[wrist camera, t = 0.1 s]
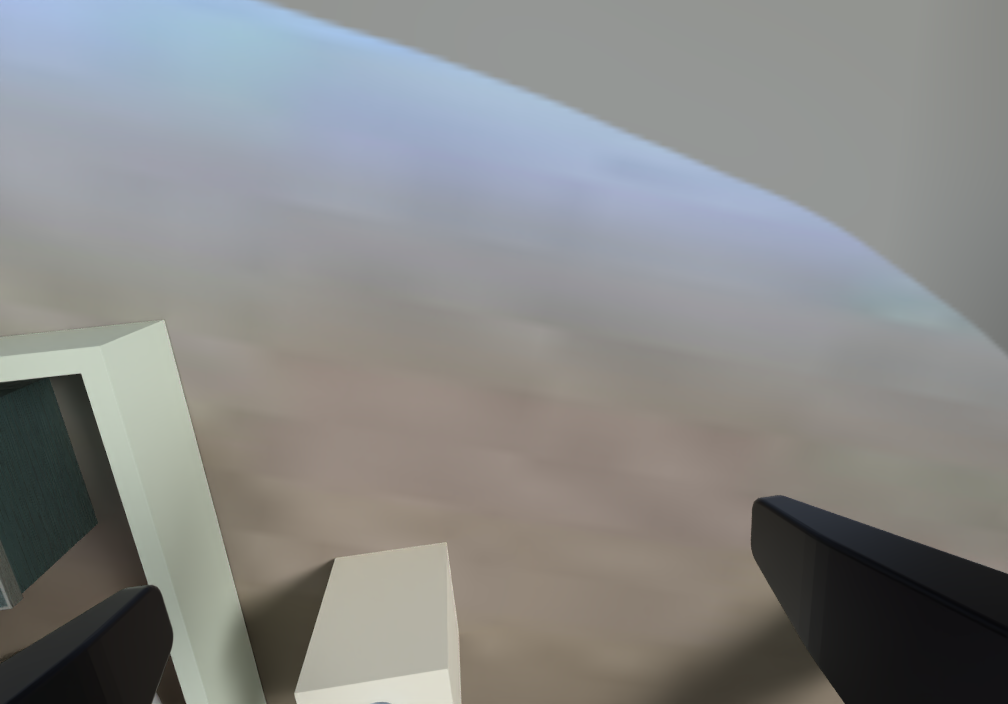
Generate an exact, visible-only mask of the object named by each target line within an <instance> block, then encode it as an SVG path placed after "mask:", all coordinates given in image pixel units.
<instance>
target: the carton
mask: <svg viewBox="0 0 1008 704" xmlns="http://www.w3.org/2000/svg"><path fill="white" fill-rule="evenodd" d="M294 694H295V698H296V702H297V704H461V681H460V655H459V631H458V623H457V616H456V608H455V601H454V594H453V586H452V579H451V572H450V564H449V557H448V550H447V542H444V543H437V544H430V545H423V546H416V547H409V548H402V549H395V550H388V551H381V552H374V553H367V554H360V555H353V556H346V557H339V558H335V561H334V564H333V567H332V571H331V574H330V577H329V581H328V584H327V587H326V591H325V594H324V597H323V600H322V604H321V607H320V610H319V614H318V617H317V620H316V624H315V627H314V630H313V633H312V637H311V640H310V643H309V647H308V650H307V653H306V657H305V660H304V663H303V666H302V670H301V673H300V676H299V680H298V683H297V686H296V690H295V693H294Z"/></svg>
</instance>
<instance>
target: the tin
mask: <svg viewBox="0 0 1008 704" xmlns="http://www.w3.org/2000/svg"><path fill="white" fill-rule="evenodd" d="M97 524H98V522H97V519H96V516H95V513H94V510H93V507H92V504H91V501H90V498H89V495H88V492H87V489H86V486H85V483H84V480H83V477H82V474H81V471H80V468H79V465H78V462H77V459H76V456H75V453H74V450H73V447H72V444H71V441H70V438H69V435H68V432H67V429H66V426H65V424H64V421H63V418H62V415H61V412H60V409H59V406H58V403H57V400H56V397H55V394H54V391H53V388H52V385H51V382H50V379H49V377H42V378H33V379H24V380H15V381H6V382H0V610H5V609H12V608H13V607H14V606H15V605H16V604H17V603H19V602H20V601H21V600H22V599H23V596H22V593H23V592H24V591H25V590H26V589H27V588H28V587H30V586H31V585H32V584H33V583H34V582H35V581H36V580H37V579H38V578H39V577H40V576H41V575H43V574H44V573H45V572H46V571H47V570H48V569H49V568H50V567H51V566H52V565H53V564H54V563H56V562H57V561H58V560H59V559H60V558H61V557H62V556H63V555H64V554H65V553H66V552H67V551H69V550H70V549H71V548H72V547H73V546H74V545H75V544H76V543H77V542H78V541H79V540H80V539H82V538H83V537H84V536H85V535H86V534H87V533H88V532H89V531H90V530H91V529H92V528H94V527H95V526H96V525H97Z"/></svg>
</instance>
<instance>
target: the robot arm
mask: <svg viewBox="0 0 1008 704" xmlns="http://www.w3.org/2000/svg"><path fill="white" fill-rule="evenodd" d="M751 549H752V553H753V556H754V559H755V561H756V563H757V564H758V566H759V568H760V570H761V571H762V573H763V575H764V577H765V578H766V580H767V582H768V583H769V585H770V587H771V589H772V590H773V592H774V594H775V596H776V597H777V599H778V601H779V603H780V604H781V606H782V608H783V610H784V611H785V613H786V615H787V616H788V618H789V620H790V622H791V623H792V625H793V627H794V629H795V630H796V632H797V634H798V636H799V637H800V639H801V640H802V642H803V644H804V645H805V647H806V649H807V650H808V652H809V653H810V655H811V656H812V658H813V659H814V660H815V662H816V663H817V665H818V666H819V668H820V669H821V671H822V672H823V673H824V675H825V676H826V678H827V679H828V680H829V682H830V683H831V685H832V686H833V688H834V689H835V690H836V692H837V693H838V695H839V696H840V697H841V699H842V700H843V702H844V703H845V704H1008V574H1007V573H1004V572H1001V571H998V570H995V569H992V568H990V567H987V566H984V565H981V564H978V563H975V562H972V561H969V560H967V559H964V558H961V557H958V556H955V555H952V554H949V553H946V552H944V551H941V550H938V549H935V548H932V547H929V546H926V545H923V544H921V543H918V542H915V541H912V540H909V539H906V538H903V537H900V536H898V535H895V534H892V533H889V532H886V531H883V530H880V529H877V528H875V527H872V526H869V525H866V524H863V523H860V522H857V521H854V520H852V519H849V518H846V517H843V516H840V515H837V514H834V513H831V512H829V511H826V510H823V509H820V508H817V507H814V506H811V505H808V504H806V503H803V502H800V501H797V500H794V499H791V498H788V497H785V496H782V495H777V496H770V497H763V498H758V499H757V500H755V501H754V503H753V507H752V526H751ZM173 637H174V636H173V629H172V625H171V622H170V619H169V616H168V612H167V609H166V606H165V603H164V599H163V596H162V593H161V591H160V589H159V588H158V587H157V586H154V585H145V586H137V587H130V588H126V589H122V590H121V591H119V592H117V593H115V594H114V595H112V596H111V597H109V598H107V599H106V600H104V601H102V602H101V603H99V604H97V605H96V606H94V607H93V608H91V609H89V610H88V611H86V612H84V613H83V614H81V615H80V616H78V617H76V618H75V619H73V620H71V621H70V622H68V623H66V624H65V625H63V626H62V627H60V628H58V629H57V630H55V631H53V632H52V633H50V634H48V635H47V636H45V637H44V638H42V639H40V640H39V641H37V642H35V643H34V644H32V645H30V646H29V647H27V648H26V649H24V650H22V651H21V652H19V653H17V654H16V655H14V656H12V657H11V658H9V659H8V660H6V661H4V662H3V663H1V664H0V704H152V703H153V700H154V697H155V694H156V691H157V689H158V686H159V683H160V680H161V678H162V675H163V672H164V669H165V667H166V664H167V661H168V658H169V656H170V653H171V650H172V646H173Z"/></svg>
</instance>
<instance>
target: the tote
mask: <svg viewBox="0 0 1008 704" xmlns="http://www.w3.org/2000/svg"><path fill="white" fill-rule="evenodd" d="M79 373H81V375H82V378H83V381H84V384H85V387H86V390H87V393H88V397H89V400H90V403H91V406H92V409H93V412H94V415H95V419H96V422H97V425H98V428H99V431H100V434H101V437H102V441H103V444H104V447H105V450H106V453H107V456H108V459H109V463H110V466H111V469H112V472H113V475H114V478H115V481H116V485H117V488H118V491H119V494H120V497H121V500H122V503H123V506H124V510H125V513H126V516H127V519H128V522H129V525H130V528H131V532H132V535H133V538H134V541H135V544H136V547H137V550H138V554H139V557H140V560H141V563H142V566H143V569H144V572H145V576H146V579H147V582H148V585H154V586H157V587H158V588H159V589H160V591H161V593H162V596H163V599H164V603H165V606H166V609H167V612H168V616H169V619H170V622H171V625H172V629H173V636H174V637H173V646H172V650H171V653H170V654H171V657H172V660H173V663H174V667H175V670H176V673H177V676H178V679H179V682H180V685H181V689H182V692H183V695H184V698H185V701H186V704H266V700H265V697H264V693H263V689H262V685H261V682H260V678H259V674H258V670H257V667H256V663H255V659H254V655H253V652H252V648H251V644H250V640H249V637H248V633H247V629H246V625H245V622H244V618H243V614H242V610H241V607H240V603H239V599H238V595H237V592H236V588H235V584H234V580H233V576H232V573H231V569H230V565H229V561H228V558H227V554H226V550H225V546H224V543H223V539H222V535H221V531H220V528H219V524H218V520H217V516H216V513H215V509H214V505H213V501H212V498H211V494H210V490H209V486H208V483H207V479H206V475H205V471H204V468H203V464H202V460H201V456H200V453H199V449H198V445H197V441H196V438H195V434H194V430H193V426H192V423H191V419H190V415H189V411H188V408H187V404H186V400H185V396H184V393H183V389H182V385H181V381H180V378H179V374H178V370H177V366H176V363H175V359H174V355H173V351H172V348H171V344H170V340H169V336H168V333H167V329H166V325H165V321H164V320H156V321H147V322H137V323H128V324H118V325H109V326H99V327H90V328H80V329H70V330H61V331H51V332H42V333H32V334H23V335H13V336H4V337H0V382H6V381H15V380H24V379H33V378H42V377H51V376H60V375H70V374H79Z"/></svg>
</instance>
